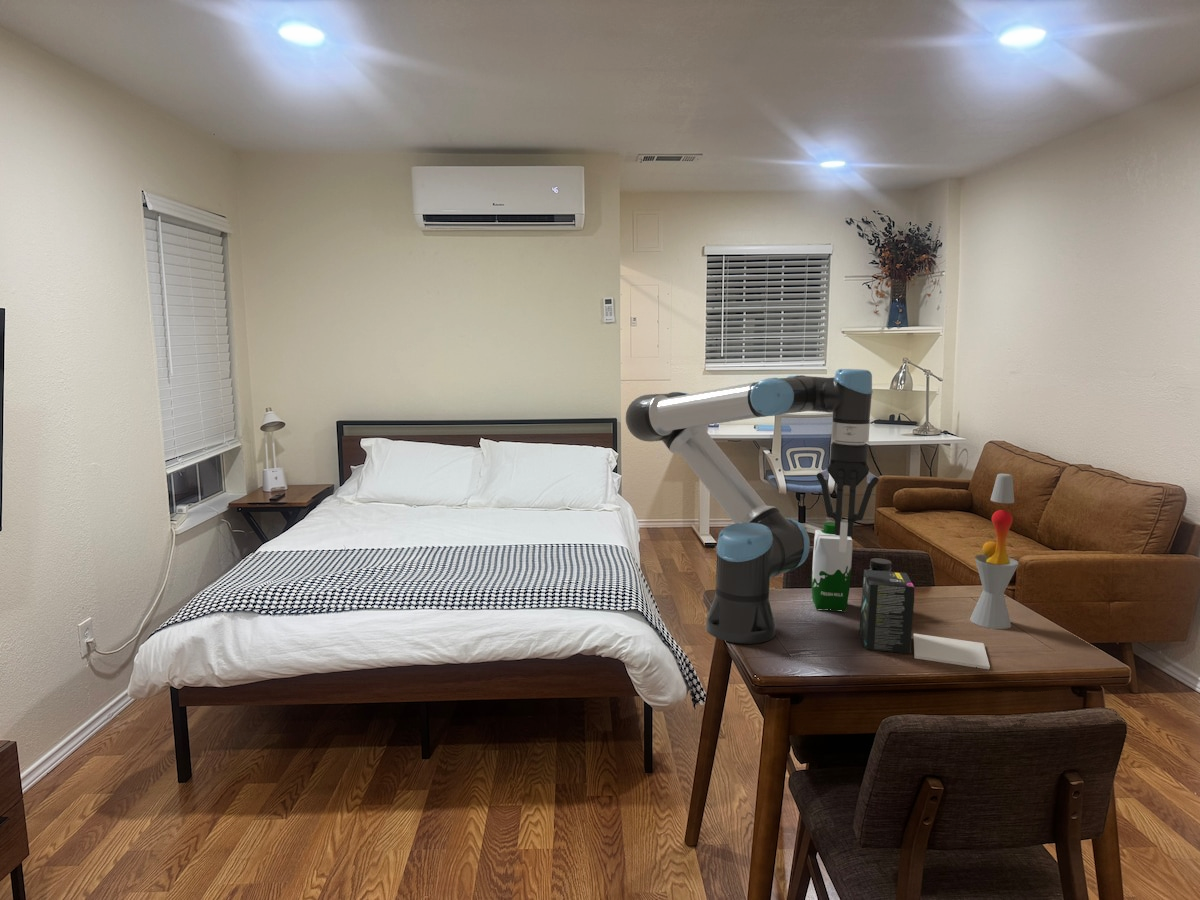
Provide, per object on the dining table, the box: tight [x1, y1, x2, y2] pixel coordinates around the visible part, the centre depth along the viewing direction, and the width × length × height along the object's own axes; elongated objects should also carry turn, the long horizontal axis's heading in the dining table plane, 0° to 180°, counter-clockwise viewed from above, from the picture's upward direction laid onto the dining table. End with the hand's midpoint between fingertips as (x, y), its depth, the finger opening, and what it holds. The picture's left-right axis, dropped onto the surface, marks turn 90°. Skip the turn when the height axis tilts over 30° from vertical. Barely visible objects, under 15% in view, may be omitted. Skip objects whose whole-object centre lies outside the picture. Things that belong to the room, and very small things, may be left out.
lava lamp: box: [969, 473, 1019, 630], centre depth 181 cm, size 9×9×35 cm
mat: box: [912, 633, 991, 670], centre depth 166 cm, size 14×13×1 cm
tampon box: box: [858, 568, 916, 654], centre depth 169 cm, size 11×9×15 cm
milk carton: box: [811, 521, 853, 612], centre depth 191 cm, size 9×9×20 cm
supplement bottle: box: [868, 557, 892, 572], centre depth 191 cm, size 7×7×12 cm
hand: (842, 550), depth 171 cm, fingers closed
